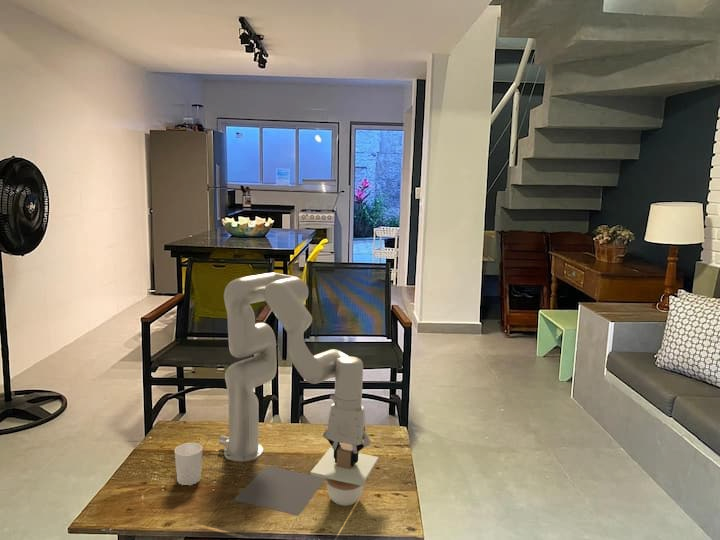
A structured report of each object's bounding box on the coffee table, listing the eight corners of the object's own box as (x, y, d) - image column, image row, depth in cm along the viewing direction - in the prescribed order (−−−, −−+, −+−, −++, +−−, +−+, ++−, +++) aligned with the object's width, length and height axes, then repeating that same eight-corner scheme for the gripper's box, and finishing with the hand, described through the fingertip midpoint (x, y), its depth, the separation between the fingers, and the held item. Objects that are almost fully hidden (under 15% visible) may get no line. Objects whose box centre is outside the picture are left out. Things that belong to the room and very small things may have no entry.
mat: (233, 501, 159) (233, 499, 159) (266, 467, 178) (266, 465, 178) (298, 517, 153) (298, 515, 153) (325, 480, 172) (325, 478, 172)
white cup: (208, 477, 171) (207, 446, 170) (190, 489, 164) (189, 458, 162) (188, 470, 175) (187, 440, 173) (169, 482, 167) (168, 451, 166)
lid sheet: (310, 474, 155) (310, 455, 154) (330, 449, 169) (330, 431, 168) (362, 486, 150) (363, 466, 149) (378, 459, 165) (379, 440, 164)
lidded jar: (359, 514, 155) (360, 483, 154) (321, 508, 158) (322, 477, 156) (366, 493, 166) (367, 463, 164) (331, 488, 168) (332, 458, 166)
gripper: (314, 401, 155) (313, 463, 159) (373, 411, 150) (370, 475, 154) (324, 391, 162) (323, 450, 166) (380, 401, 157) (378, 462, 161)
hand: (345, 461), depth 160 cm, fingers closed on lid sheet, 4 cm apart
